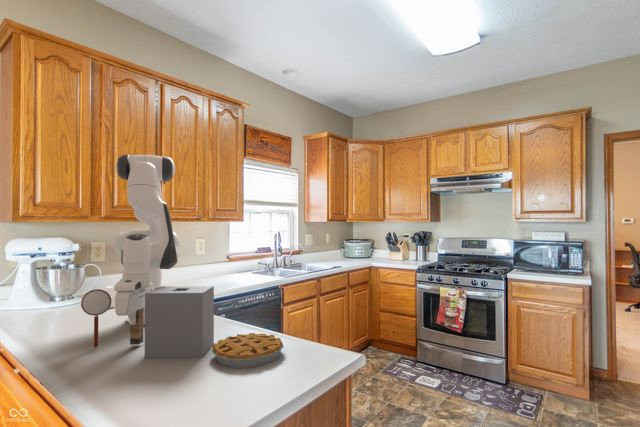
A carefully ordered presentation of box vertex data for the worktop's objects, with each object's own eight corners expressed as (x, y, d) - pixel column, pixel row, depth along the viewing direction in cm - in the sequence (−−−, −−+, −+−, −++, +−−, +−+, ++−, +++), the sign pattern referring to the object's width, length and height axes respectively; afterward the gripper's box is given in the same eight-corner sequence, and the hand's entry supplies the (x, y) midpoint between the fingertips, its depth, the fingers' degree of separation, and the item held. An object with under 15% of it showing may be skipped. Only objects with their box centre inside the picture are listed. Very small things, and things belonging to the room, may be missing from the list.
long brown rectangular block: (134, 341, 123) (134, 295, 124) (143, 341, 123) (143, 295, 124) (129, 344, 120) (130, 296, 121) (138, 344, 120) (139, 296, 121)
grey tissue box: (161, 345, 123) (161, 286, 124) (213, 344, 123) (213, 286, 124) (144, 358, 111) (144, 293, 112) (202, 357, 111) (202, 292, 112)
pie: (297, 356, 112) (297, 340, 112) (236, 377, 97) (236, 359, 97) (257, 340, 128) (257, 326, 128) (199, 356, 112) (199, 340, 112)
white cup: (122, 307, 180) (122, 287, 181) (104, 308, 177) (104, 288, 178) (124, 304, 188) (124, 285, 188) (107, 305, 185) (107, 286, 185)
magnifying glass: (111, 347, 121) (111, 287, 122) (110, 348, 120) (111, 288, 120) (81, 350, 118) (81, 289, 118) (80, 352, 116) (80, 290, 117)
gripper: (142, 277, 133) (142, 314, 133) (110, 287, 113) (110, 331, 112) (159, 277, 133) (159, 314, 133) (131, 286, 113) (130, 331, 112)
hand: (136, 322), depth 122 cm, fingers closed on long brown rectangular block, 3 cm apart
